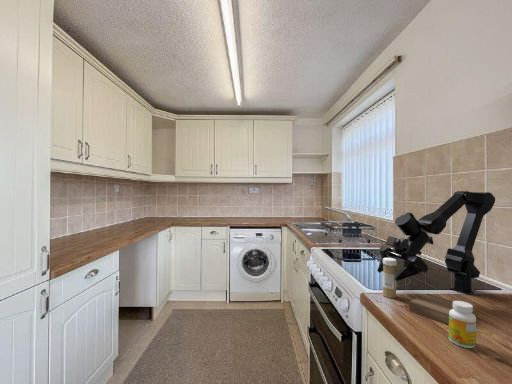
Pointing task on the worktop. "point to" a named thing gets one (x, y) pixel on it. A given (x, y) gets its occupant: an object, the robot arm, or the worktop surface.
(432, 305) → the walnut block
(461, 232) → the robot arm
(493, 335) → the worktop surface
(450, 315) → the supplement bottle
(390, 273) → the sprinkles bottle
